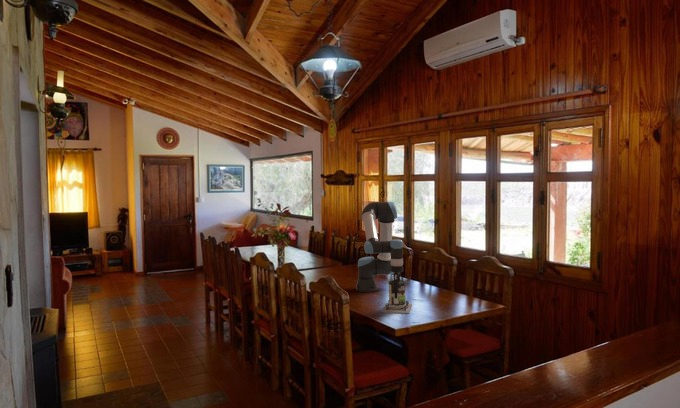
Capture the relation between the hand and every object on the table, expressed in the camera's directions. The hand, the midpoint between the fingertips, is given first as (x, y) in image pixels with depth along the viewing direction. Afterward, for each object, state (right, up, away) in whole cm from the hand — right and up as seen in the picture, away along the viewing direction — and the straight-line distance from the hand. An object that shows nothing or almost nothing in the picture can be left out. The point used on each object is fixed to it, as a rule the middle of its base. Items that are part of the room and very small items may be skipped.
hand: (397, 301), depth 304 cm
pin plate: (0, -5, 0) cm, 5 cm away
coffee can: (0, -2, 0) cm, 2 cm away
